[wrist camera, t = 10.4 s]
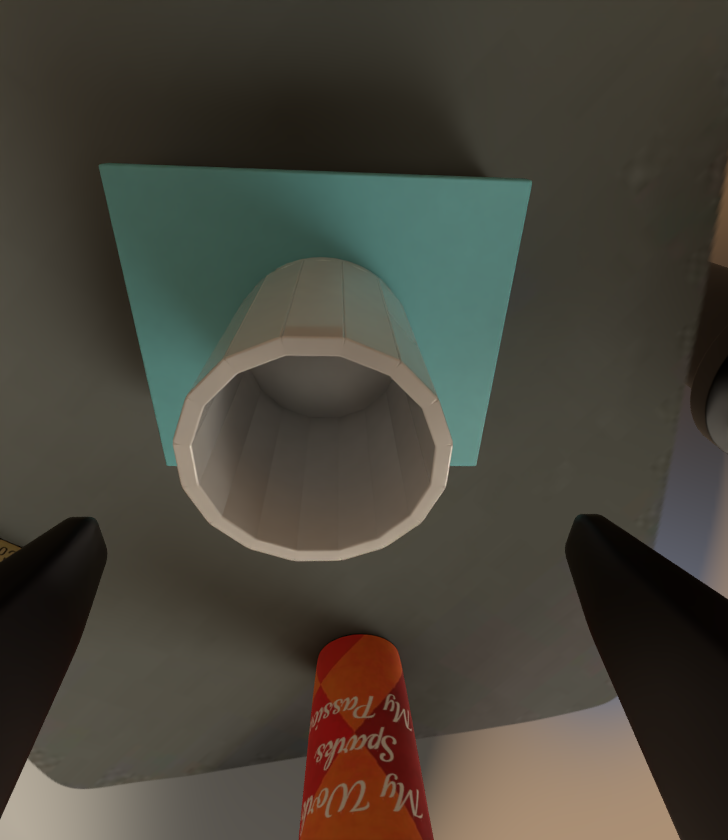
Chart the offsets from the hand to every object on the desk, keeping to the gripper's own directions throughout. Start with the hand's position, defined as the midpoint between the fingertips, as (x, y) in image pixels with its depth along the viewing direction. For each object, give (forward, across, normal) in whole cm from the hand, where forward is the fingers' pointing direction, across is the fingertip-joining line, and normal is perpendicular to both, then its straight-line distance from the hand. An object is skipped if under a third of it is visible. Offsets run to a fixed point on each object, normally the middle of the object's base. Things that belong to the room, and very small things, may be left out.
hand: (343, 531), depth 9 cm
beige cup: (+9, +1, 0) cm, 9 cm away
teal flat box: (+12, +1, 0) cm, 12 cm away
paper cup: (+12, -1, +24) cm, 27 cm away
